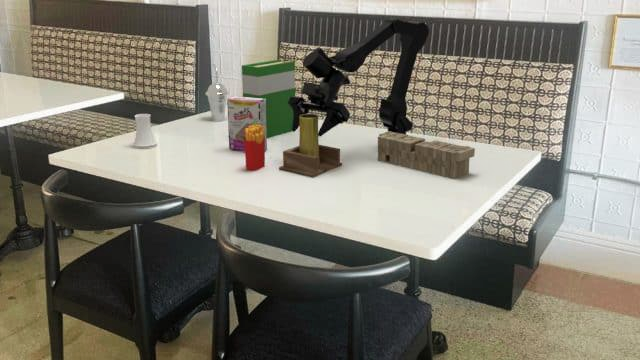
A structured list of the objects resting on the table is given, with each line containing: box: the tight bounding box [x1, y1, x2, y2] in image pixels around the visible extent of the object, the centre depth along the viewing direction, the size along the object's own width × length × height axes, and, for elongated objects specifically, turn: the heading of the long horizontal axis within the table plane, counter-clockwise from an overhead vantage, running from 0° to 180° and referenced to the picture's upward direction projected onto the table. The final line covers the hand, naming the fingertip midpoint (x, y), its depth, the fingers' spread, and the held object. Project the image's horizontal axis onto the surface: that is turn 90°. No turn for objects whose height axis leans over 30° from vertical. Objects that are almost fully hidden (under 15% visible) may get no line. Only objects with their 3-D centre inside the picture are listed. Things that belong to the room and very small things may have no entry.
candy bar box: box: [226, 95, 268, 152], centre depth 201 cm, size 11×5×16 cm, turn 71°
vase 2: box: [298, 113, 320, 166], centre depth 184 cm, size 6×6×14 cm
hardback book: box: [241, 59, 296, 139], centre depth 220 cm, size 18×7×24 cm, turn 140°
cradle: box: [278, 144, 343, 179], centre depth 185 cm, size 14×12×5 cm
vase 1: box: [132, 113, 158, 150], centre depth 207 cm, size 8×8×10 cm
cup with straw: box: [205, 63, 229, 122], centre depth 240 cm, size 8×9×20 cm
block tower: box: [377, 130, 476, 180], centre depth 186 cm, size 8×8×29 cm
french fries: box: [244, 125, 266, 172], centre depth 185 cm, size 8×4×12 cm, turn 153°
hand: (305, 133), depth 182 cm, fingers open, 9 cm apart
